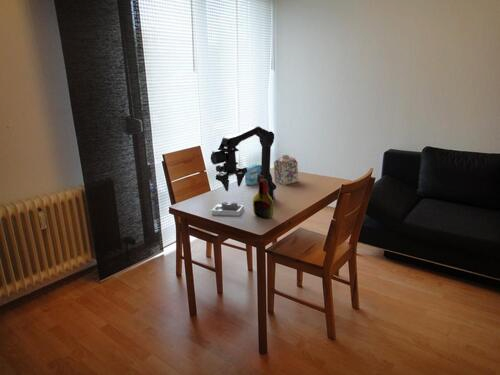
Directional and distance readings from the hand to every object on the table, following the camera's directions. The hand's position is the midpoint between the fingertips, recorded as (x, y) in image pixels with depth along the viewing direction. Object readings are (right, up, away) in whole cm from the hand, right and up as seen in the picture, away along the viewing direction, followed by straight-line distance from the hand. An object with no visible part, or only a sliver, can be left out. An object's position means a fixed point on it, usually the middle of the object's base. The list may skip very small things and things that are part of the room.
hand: (233, 188), depth 192 cm
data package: (+12, +3, +49) cm, 50 cm away
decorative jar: (+33, +4, +48) cm, 59 cm away
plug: (-3, -12, 0) cm, 12 cm away
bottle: (+16, -14, -8) cm, 23 cm away
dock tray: (-3, -13, 0) cm, 13 cm away
